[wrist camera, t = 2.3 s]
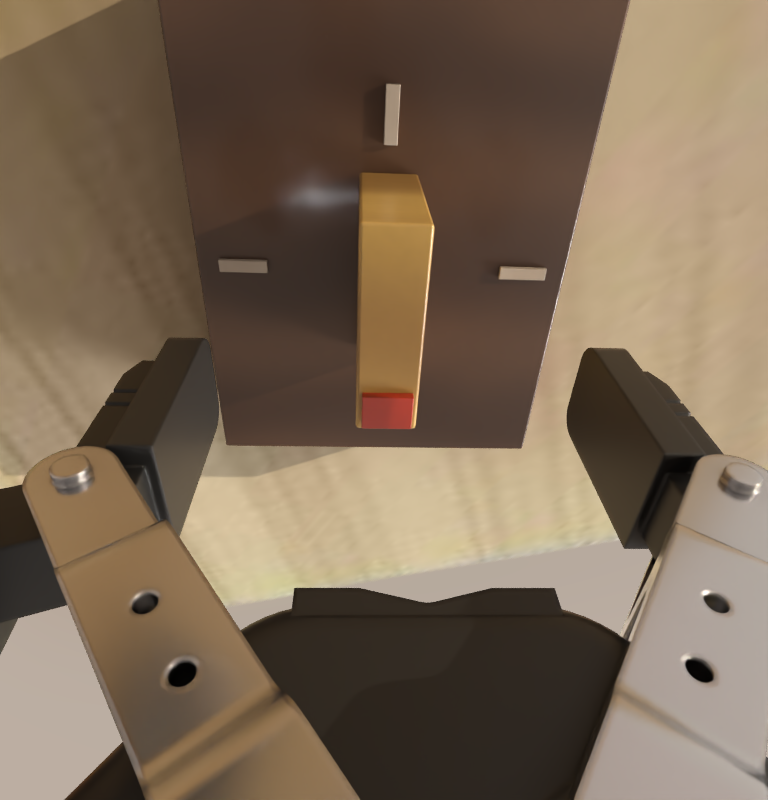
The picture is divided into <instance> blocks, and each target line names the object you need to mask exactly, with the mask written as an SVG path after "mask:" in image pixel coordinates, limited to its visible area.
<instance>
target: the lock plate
mask: <svg viewBox="0 0 768 800" xmlns="http://www.w3.org/2000/svg"><path fill="white" fill-rule="evenodd" d="M629 4H630V0H158V7H159V13H160V19H161V26H162V32H163V39H164V45H165V52H166V58H167V65H168V71H169V78H170V84H171V90H172V97H173V103H174V110H175V116H176V123H177V129H178V136H179V142H180V149H181V155H182V161H183V168H184V174H185V181H186V187H187V194H188V200H189V207H190V213H191V220H192V226H193V232H194V239H195V245H196V252H197V258H198V265H199V271H200V278H201V284H202V291H203V297H204V303H205V310H206V316H207V323H208V329H209V336H210V342H211V349H212V355H213V362H214V368H215V374H216V381H217V387H218V394H219V400H220V407H221V413H222V420H223V426H224V432H225V439H226V444H227V445H238V446H331V447H424V448H518V449H520V448H522V446H523V442H524V438H525V434H526V430H527V426H528V422H529V417H530V413H531V409H532V405H533V401H534V397H535V393H536V389H537V384H538V380H539V376H540V372H541V368H542V364H543V360H544V355H545V351H546V347H547V343H548V339H549V335H550V331H551V326H552V322H553V318H554V314H555V310H556V306H557V302H558V297H559V293H560V289H561V285H562V281H563V277H564V273H565V269H566V264H567V260H568V256H569V252H570V248H571V244H572V240H573V235H574V231H575V227H576V223H577V219H578V215H579V211H580V206H581V202H582V198H583V194H584V190H585V186H586V182H587V178H588V173H589V169H590V165H591V161H592V157H593V153H594V149H595V144H596V140H597V136H598V132H599V128H600V124H601V120H602V115H603V111H604V107H605V103H606V99H607V95H608V91H609V87H610V82H611V78H612V74H613V70H614V66H615V62H616V58H617V53H618V49H619V45H620V41H621V37H622V33H623V29H624V24H625V20H626V16H627V12H628V8H629ZM360 173H391V174H416V175H418V177H419V181H420V184H421V187H422V190H423V193H424V196H425V199H426V202H427V205H428V208H429V212H430V215H431V218H432V221H433V224H434V227H435V228H434V239H433V249H432V260H431V270H430V281H429V291H428V302H427V312H426V322H425V333H424V343H423V354H422V364H421V375H420V385H419V396H418V406H417V416H416V426H415V427H414V428H411V429H364V428H358V427H357V426H356V344H357V285H358V226H359V175H360Z"/></svg>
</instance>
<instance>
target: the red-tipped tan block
mask: <svg viewBox="0 0 768 800" xmlns="http://www.w3.org/2000/svg"><path fill="white" fill-rule="evenodd" d="M434 228H435V227H434V224H433V221H432V218H431V215H430V212H429V208H428V205H427V202H426V199H425V196H424V193H423V190H422V187H421V184H420V181H419V177H418V175H416V174H391V173H360V175H359V226H358V285H357V344H356V426H357V427H358V428H364V429H411V428H414V427H415V426H416V416H417V406H418V396H419V385H420V375H421V364H422V354H423V343H424V333H425V322H426V312H427V302H428V291H429V281H430V270H431V260H432V249H433V239H434Z"/></svg>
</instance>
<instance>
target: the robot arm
mask: <svg viewBox="0 0 768 800" xmlns="http://www.w3.org/2000/svg"><path fill="white" fill-rule="evenodd" d="M690 414H691V413H690V412H689V411H688V409H687V408H686V407H685V406H684V404H680V399H679V398H678V397H677V396H676V394H675V393H674V392H673V391H672V389H671V388H670V387H669V386H668V385H667V384H666V383H664V382H663V381H661V380H660V379H658V378H657V377H655V376H654V375H652V374H651V373H649V372H643V371H642V369H641V368H640V367H639V366H638V364H637V363H636V362H635V360H634V359H633V358H632V356H631V355H630V354H629V353H628V351H627V350H625V349H619V348H588V349H587V350H586V351H585V352H584V354H583V356H582V359H581V362H580V366H579V369H578V373H577V377H576V380H575V384H574V387H573V391H572V394H571V398H570V401H569V405H568V409H567V428H568V432H569V435H570V437H571V439H572V441H573V444H574V446H575V448H576V450H577V452H578V454H579V456H580V458H581V460H582V462H583V464H584V466H585V468H586V471H587V473H588V475H589V477H590V479H591V481H592V483H593V485H594V487H595V489H596V491H597V493H598V496H599V498H600V500H601V502H602V504H603V506H604V508H605V510H606V512H607V514H608V516H609V518H610V520H611V523H612V525H613V527H614V529H615V531H616V533H617V535H618V537H619V539H620V541H621V543H622V545H623V547H624V548H625V549H649V550H650V552H651V554H652V558H651V560H650V562H649V564H648V566H647V568H646V571H645V573H644V576H643V578H642V581H641V583H640V586H639V588H638V591H637V593H636V596H635V598H634V601H633V603H632V605H631V608H630V611H629V613H628V616H627V618H626V620H625V623H624V625H623V628H622V630H621V633H620V635H618V634H617V633H615V632H614V631H612V630H610V629H608V628H607V627H605V626H603V625H601V624H599V623H597V622H595V621H593V620H591V619H589V618H586V617H584V616H581V615H578V614H575V613H572V612H569V611H566V610H562V609H561V606H560V603H559V600H558V597H557V594H556V591H555V589H554V588H490V589H486V590H482V591H478V592H474V593H470V594H466V595H461V596H457V597H453V598H449V599H445V600H441V601H436V602H431V603H424V602H418V601H414V600H409V599H405V598H401V597H396V596H392V595H388V594H383V593H378V592H374V591H370V590H366V589H361V588H294V596H293V604H292V609H289V610H285V611H281V612H278V613H275V614H273V615H270V616H267V617H265V618H262V619H260V620H258V621H256V622H254V623H252V624H250V625H249V626H247V627H245V628H244V629H242V630H240V629H239V628H238V626H237V625H236V623H235V622H234V620H233V619H232V617H231V615H230V614H229V613H228V611H227V609H226V608H225V606H224V605H223V603H222V602H221V600H220V599H219V597H218V596H217V594H216V593H215V591H214V589H213V588H212V586H211V585H210V583H209V582H208V580H207V579H206V577H205V576H204V574H203V573H202V571H201V570H200V568H199V566H198V565H197V563H196V562H195V560H194V559H193V557H192V556H191V554H190V553H189V551H188V550H187V548H186V547H185V545H184V544H183V542H182V540H181V539H180V537H179V536H180V533H181V531H182V528H183V525H184V522H185V519H186V516H187V513H188V510H189V507H190V504H191V502H192V499H193V496H194V493H195V490H196V487H197V484H198V481H199V478H200V475H201V473H202V470H203V467H204V464H205V461H206V458H207V455H208V452H209V449H210V446H211V444H212V441H213V438H214V435H215V432H216V429H217V425H218V417H219V402H218V395H217V388H216V382H215V375H214V368H213V362H212V355H211V349H210V345H209V342H208V340H207V339H205V338H168V339H167V341H166V342H165V344H164V346H163V348H162V349H161V351H160V353H159V354H158V356H157V358H156V359H155V361H144V360H143V361H141V362H140V363H139V364H137V365H136V366H134V367H133V368H131V369H130V370H128V371H127V372H126V373H124V374H123V376H122V377H121V379H120V380H119V382H118V383H117V385H116V386H115V388H114V393H111V394H110V396H109V397H108V399H107V400H106V402H105V406H103V407H102V408H101V410H100V411H99V413H98V414H97V416H96V417H95V419H94V420H93V422H92V424H91V425H90V427H89V428H88V430H87V431H86V433H85V434H84V436H83V437H82V439H81V440H80V442H79V444H78V445H77V447H75V448H70V449H66V450H63V451H60V452H57V453H55V454H52V455H50V456H48V457H47V458H45V459H43V460H42V461H40V462H39V463H37V464H36V465H35V466H34V467H33V468H32V469H31V470H30V471H29V472H28V473H27V475H26V476H25V478H24V481H23V484H22V485H18V486H14V487H9V488H4V489H0V654H1V652H2V650H3V648H4V646H5V644H6V642H7V640H8V638H9V636H10V634H11V632H12V630H13V628H14V626H15V624H16V622H17V619H18V618H21V617H24V616H28V615H32V614H35V613H39V612H43V611H46V610H50V609H54V608H58V607H61V606H65V605H68V607H69V610H70V612H71V615H72V617H73V620H74V622H75V624H76V627H77V630H78V632H79V635H80V637H81V640H82V642H83V644H84V647H85V649H86V652H87V654H88V657H89V659H90V662H91V664H92V667H93V669H94V672H95V674H96V677H97V679H98V682H99V684H100V687H101V689H102V691H103V694H104V696H105V699H106V701H107V704H108V706H109V709H110V711H111V714H112V716H113V719H114V721H115V723H116V726H117V728H118V731H119V733H120V736H121V738H122V741H123V742H122V743H121V744H120V745H119V746H118V747H117V748H116V749H115V750H114V751H113V752H112V753H111V754H110V755H109V756H108V757H107V758H106V759H105V760H104V761H103V762H102V763H101V764H100V765H99V766H98V767H97V768H96V769H95V770H94V771H93V772H92V773H91V774H90V775H89V776H88V777H87V778H86V779H85V780H84V781H83V782H82V783H81V784H80V785H79V786H78V787H77V788H76V789H75V790H74V791H73V792H72V793H71V794H70V795H69V796H68V797H67V798H66V799H65V800H768V758H767V757H766V752H767V744H768V471H767V470H766V469H764V468H762V467H761V466H759V465H757V464H755V463H753V462H750V461H748V460H745V459H742V458H739V457H735V456H731V455H724V454H723V453H722V452H721V450H720V449H719V448H718V447H717V445H716V444H715V443H714V442H713V440H712V439H711V438H710V437H709V435H708V434H707V433H706V432H705V430H704V429H703V428H702V427H701V425H700V424H699V423H698V422H697V420H696V419H695V418H694V417H693V416H690Z"/></svg>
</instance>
